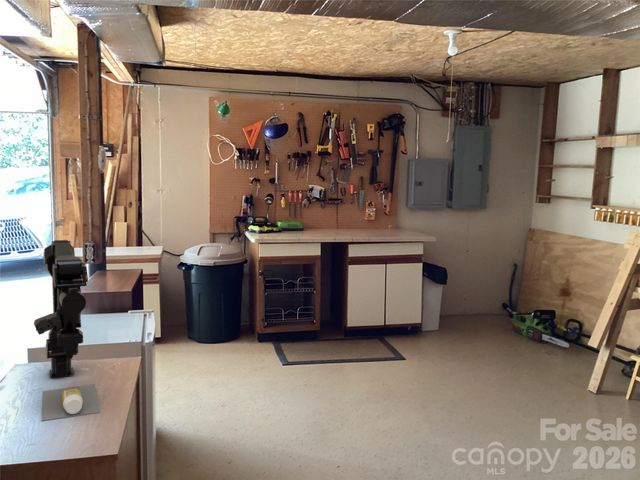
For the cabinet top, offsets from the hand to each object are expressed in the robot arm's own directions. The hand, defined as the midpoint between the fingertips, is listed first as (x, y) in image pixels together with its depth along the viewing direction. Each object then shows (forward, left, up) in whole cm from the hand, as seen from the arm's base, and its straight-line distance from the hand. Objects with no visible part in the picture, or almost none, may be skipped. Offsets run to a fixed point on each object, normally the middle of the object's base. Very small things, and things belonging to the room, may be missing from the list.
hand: (69, 358), depth 146 cm
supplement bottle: (+3, 0, -9) cm, 10 cm away
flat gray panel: (+1, 0, -12) cm, 12 cm away
